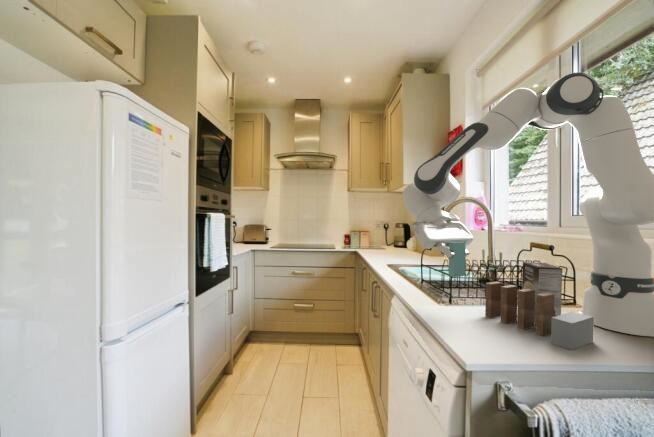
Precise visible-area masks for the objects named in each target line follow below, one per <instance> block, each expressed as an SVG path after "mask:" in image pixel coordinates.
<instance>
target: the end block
mask: <svg viewBox="0 0 654 437" xmlns="http://www.w3.org/2000/svg"><path fill="white" fill-rule="evenodd" d="M593 323H594V317H592V316H588V315H584V314H580V313H577V311H570V312H567V313H563V314H561V315H559V316H555V317H552V319H551V334H550V343H551V344H553V345H557V346H559V347H561V348H565V349H567V350H570V351H574V350H576V349H578V348H581V347H584V346H586V345H588V344H591V343H594V324H593Z"/></svg>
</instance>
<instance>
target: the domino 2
mask: <svg viewBox="0 0 654 437" xmlns="http://www.w3.org/2000/svg"><path fill="white" fill-rule="evenodd" d="M502 285H503V283H502V282H500V281H492V282H491V281H490V282H486V283H485V315H484V316H485V318H488V319H494V318H498V317H501V286H502Z"/></svg>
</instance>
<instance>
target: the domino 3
mask: <svg viewBox="0 0 654 437" xmlns="http://www.w3.org/2000/svg"><path fill="white" fill-rule="evenodd" d="M518 288H519V286H518V285H515V284H509V285H503V286H501V316H500V322H501V323H504V324H511V323H515V322H517V311H518Z"/></svg>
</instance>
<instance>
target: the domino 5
mask: <svg viewBox="0 0 654 437" xmlns="http://www.w3.org/2000/svg"><path fill="white" fill-rule="evenodd" d="M552 317H554V294H552V293H542V294H537V297H536V323H535V335H537V336H541V337H545V336H549V335H551V319H552Z"/></svg>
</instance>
